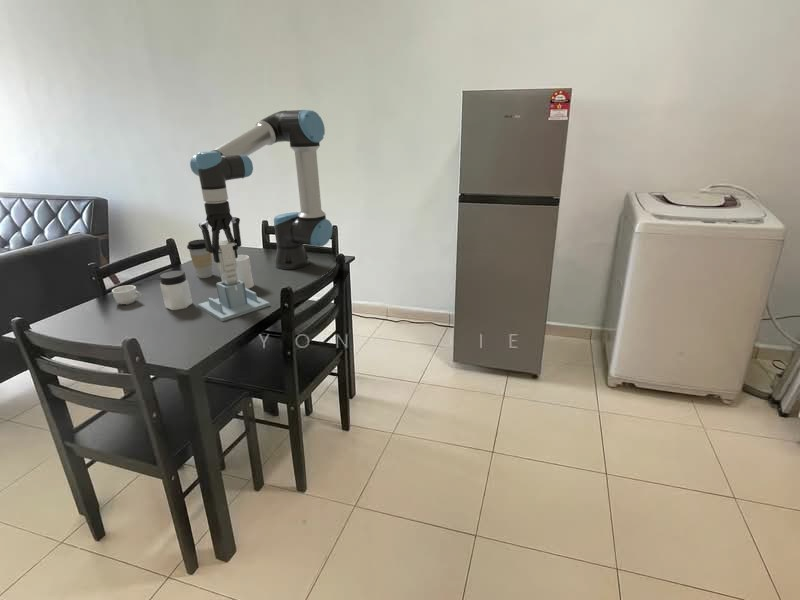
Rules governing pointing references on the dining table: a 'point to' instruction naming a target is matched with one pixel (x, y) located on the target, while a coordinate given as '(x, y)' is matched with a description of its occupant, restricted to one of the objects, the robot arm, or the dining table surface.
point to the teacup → (125, 294)
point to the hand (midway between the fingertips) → (227, 269)
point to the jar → (175, 290)
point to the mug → (244, 270)
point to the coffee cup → (200, 258)
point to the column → (228, 263)
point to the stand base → (232, 302)
